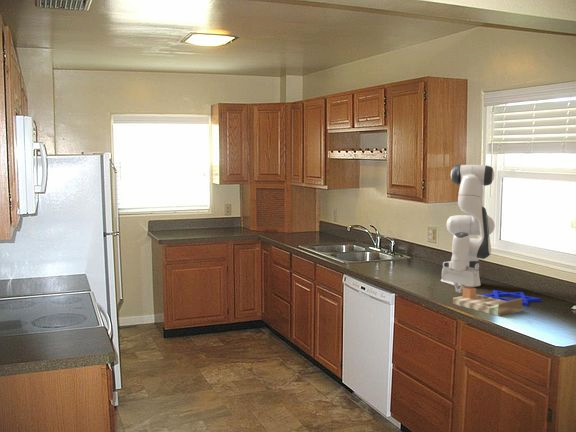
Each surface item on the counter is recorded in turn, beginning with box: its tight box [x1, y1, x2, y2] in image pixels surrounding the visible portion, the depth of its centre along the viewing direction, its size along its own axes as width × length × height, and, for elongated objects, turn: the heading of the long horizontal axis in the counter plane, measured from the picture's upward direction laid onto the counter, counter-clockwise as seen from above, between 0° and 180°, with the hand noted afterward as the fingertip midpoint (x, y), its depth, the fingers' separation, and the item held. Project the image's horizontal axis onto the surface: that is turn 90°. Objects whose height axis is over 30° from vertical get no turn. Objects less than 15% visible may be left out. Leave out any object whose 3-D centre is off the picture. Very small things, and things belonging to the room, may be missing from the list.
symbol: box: [479, 289, 542, 307], centre depth 317 cm, size 26×2×30 cm
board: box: [452, 293, 523, 317], centre depth 299 cm, size 27×17×6 cm, turn 36°
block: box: [462, 286, 477, 298], centre depth 308 cm, size 4×4×4 cm
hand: (458, 292), depth 313 cm, fingers closed
